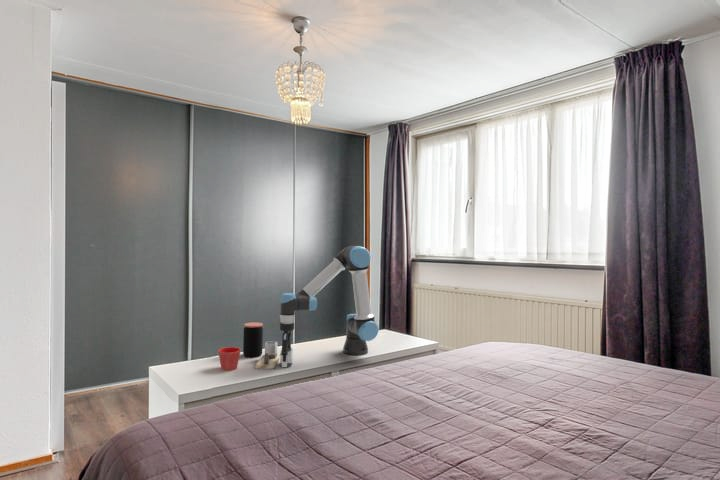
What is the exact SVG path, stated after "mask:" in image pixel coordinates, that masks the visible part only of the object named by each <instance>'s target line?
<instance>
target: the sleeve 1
mask: <svg viewBox="0 0 720 480" xmlns="http://www.w3.org/2000/svg"><path fill="white" fill-rule="evenodd" d="M265 353H268V355H269V359H275V358H276V357H277V355H278V341H270V340H269V341H266V342H264V354H265Z"/></svg>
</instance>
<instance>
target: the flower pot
mask: <svg viewBox="0 0 720 480" xmlns="http://www.w3.org/2000/svg"><path fill="white" fill-rule="evenodd" d="M240 355H241V348H239V347H235V346H230V347H229V346H228V347H226V346H225V347H222V348H220V349H218V356H219V364H220V369H221V370H222V371H225V370H226V372H227V371H235V370H237V369H238V365H239V361H240Z"/></svg>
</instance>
